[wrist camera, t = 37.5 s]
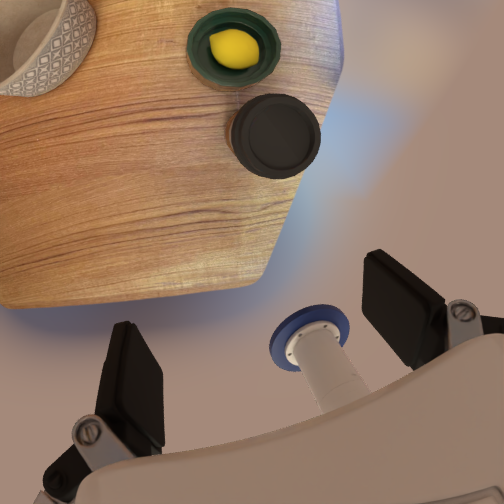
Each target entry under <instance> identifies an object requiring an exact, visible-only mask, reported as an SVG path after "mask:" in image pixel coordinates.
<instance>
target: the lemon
mask: <svg viewBox="0 0 504 504" xmlns="http://www.w3.org/2000/svg"><path fill="white" fill-rule="evenodd" d="M210 45H211V51H212V54H213V56H214V58H215V59H216V60H217V61H218V63H219V64H221V65H223V66H225V67H228V68H231V69H245V68H249V67H251V66H254V65H256V64H257V63H258V59H259V47H258V44H257V41H256V40H255V39H254V38H252V37H251V36H250V35H249V34H247V33H246V32H244V31H240V30H236V29H228V30H225V31H221V32H219V33H216V34H213V35H211V36H210Z"/></svg>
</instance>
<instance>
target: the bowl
mask: <svg viewBox="0 0 504 504" xmlns="http://www.w3.org/2000/svg"><path fill="white" fill-rule="evenodd" d="M228 29H236V30H240V31H244V32H246V33H247V34H249V35H250V36H251V37H252V38H254V39H255V40H256V41H257V44H258V47H259V59H258V63H257V64H256V65H254V66H251V67H249V68H245V69H231V68H228V67H225V66H223V65H221V64H219V63H218V61H217V60H216V59H215V58H214V56H213V54H212V51H211V45H210V36H211V35H213V34H216V33H219V32H221V31H225V30H228ZM280 52H281V42H280V39H279V37H278V34H277V31H276V29H275V28H274V27H273V26H272V25H271V24H270V23H269V22H268V21H267V20H266V18H265V17H263V16H261V15H259V14H257V13H255V12H253V11H251V10H248V9H241V8H231V7H229V8H225V9H220V10H216V11H212V12H210V13H209V14H207V15H206V16H204V17H203V18H201V19H200V20H198V21H197V22H196V24H195V25H194V27H193V28H192V30H191V32H190V33H189V35H188V42H187V53H186V54H187V55H186V59H187V62H188V65H189V67H190V70H191V73H192V74H193V75H194V76H195V77H196V78H197V79H198V80H199V81H200V82H201V83H202V84H204V85H206V86H208V87H211V88H213V89H215V90H218V91H232V92H236V91H239V90H242V89H246V88H249V87H252V86H253V85H255V84H257V83H258V82H260V81H261V80H262V79H264V78H265V77H266V76H268V75H269V74H271V73H272V72H273V70H274V68H275V66H276V65H277V63H278V61H279V60H280Z"/></svg>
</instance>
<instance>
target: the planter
mask: <svg viewBox="0 0 504 504" xmlns="http://www.w3.org/2000/svg"><path fill="white" fill-rule="evenodd" d="M95 32H96V15H95V12H94V9H93V8H92V6H91V5H90V4H89V2H88V1H87V0H0V95H12V96H24V97H34V96H38V95H42V94H44V93H47V92H49V91H51V90H53V89H54V88H56V87H57V86H59V85H60V84H62V83H63V82H64V81H65V80H66V79H67V78H69V77H70V76H71V75H72V73H73V72H74V71H75V70H76V69H77V68H78V67H79V65H80V64H81V63H82V61H83V60H84V58H85V56H86V55H87V53H88V51H89V49H90V47H91V45H92V42H93V39H94V36H95Z"/></svg>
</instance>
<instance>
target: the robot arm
mask: <svg viewBox="0 0 504 504" xmlns="http://www.w3.org/2000/svg"><path fill="white" fill-rule="evenodd" d="M362 296H363V297H362V312H363V314H364V316H365V317H366V318H367V319H368V321H369V322H370V323H371V324H372V325H373V327H374V328H375V329H376V330H377V331H378V332H379V334H380V335H381V336H382V337H383V338H384V340H385V341H386V342H387V343H388V344H389V346H390V347H391V348H392V349H393V350H394V352H395V353H396V354H397V355H398V356H399V358H400V359H401V360H402V362H403V363H404V364H405V365H406V366H408V367H409V366H410V367H411V368H412V369H413V372H411V373H409V374H408V375H406V376H404V377H402V378H400V379H399V380H397V381H395V382H393V383H391V384H389V385H387V386H385V387H383V388H381V389H380V390H377V391H375V392H373V393H372V392H371V391H370V389H369V388H368V386H367V385H366V383H365V382H364V380H363V379H362V377H361V376H360V374H359V373H358V371H357V370H356V368H355V367H354V365H353V364H352V362H351V361H350V359H349V358H348V356H347V355H346V353H345V352H344V350H343V349H342V347H341V346H340V344H339V339H340V332H339V330H338V328H337V327H336V325H335V324H333V323H332V322H329V321H315V322H312V323H309V324H307V325H305V326H303V327H301V328H300V329H298V330H297V331H296V332H295V333H294V334H293V335H292V336H291V337H290V338H289V339H288V341H287V343H286V346H285V355H286V357H287V359H288V361H289V362H290V363H292V364H294V365H297V366H299V367H300V370H301V372H302V374H303V376H304V378H305V380H306V382H307V384H308V386H309V388H310V390H311V393H312V395H313V397H314V399H315V401H316V403H317V405H318V407H319V409H320V411H321V413H322V415H320V416H317V417H315V418H312V419H309V420H306V421H303V422H301V423H298V424H295V425H292V426H289V427H286V428H283V429H279V430H276V431H272V432H269V433H266V434H262V435H259V436H255V437H251V438H248V439H243V440H239V441H235V442H230V443H226V444H221V445H217V446H211V447H206V448H200V449H195V450H189V451H182V452H176V453H169V454H162V447H164V446H165V432H164V406H163V405H164V404H163V372H162V369H161V367H160V366H159V364H158V362H157V361H156V359H155V358H154V356H153V354H152V353H151V351H150V349H149V347H148V346H147V344H146V342H145V341H144V339H143V337H142V335H141V334H140V332H139V330H138V328H137V326H136V325H135V324H134V323H133V324H131V323H130V322H129V321H124V322H120V323H116V324H115V325H114V328H113V332H112V335H111V340H110V344H109V348H108V353H107V357H106V360H105V362H104V365H103V369H102V375H101V380H100V385H99V390H98V396H97V401H96V408H95V414H94V415H86V416H83V417H82V418H80V419H79V420H78V421H77V422H76V423H75V425H74V427H73V430H72V439H73V442H74V444H73V445H72V446H71V447H70V448H69V449H68V450H67V451H66V452H64V453H63V454H62V455H61V456H60V457H59V458H58V459H57V460H56V461H55V462H54V463H53V464H51V466H49V467H48V468H47V470H46V471H45V473H44V475H43V486H44V488H45V490H44V492H43V491H41V490H40V492H39V494H38V496H37V498H36V499H35V501H34V503H33V504H504V318H498V317H490V316H482V315H480V313H479V311H478V308H477V307H476V306H475V305H474V304H473V303H471V302H469V301H467V300H462V299H459V300H454V301H452V302H450V303H449V304H448V306H447V305H446V304H445V299H444V298H443V297H442V296H440V295H439V294H438V293H437V292H436V291H434V290H433V289H432V288H431V287H430V286H428V285H427V284H426V283H425V282H423V281H422V280H421V279H419V278H418V277H417V276H416V275H415V274H413V273H412V272H411V271H409V270H408V269H407V268H405V267H404V266H403V265H402V264H400V263H399V262H398V261H396V260H395V259H394V258H392V257H391V256H390V255H388V254H387V253H385V252H384V251H383V250H381V249H377V250H375V251H371V252H369V253H367V256H366V257H365V258H364V272H363V295H362ZM424 364H425V365H424ZM158 454H161V455H158ZM152 455H153V456H152Z"/></svg>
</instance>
